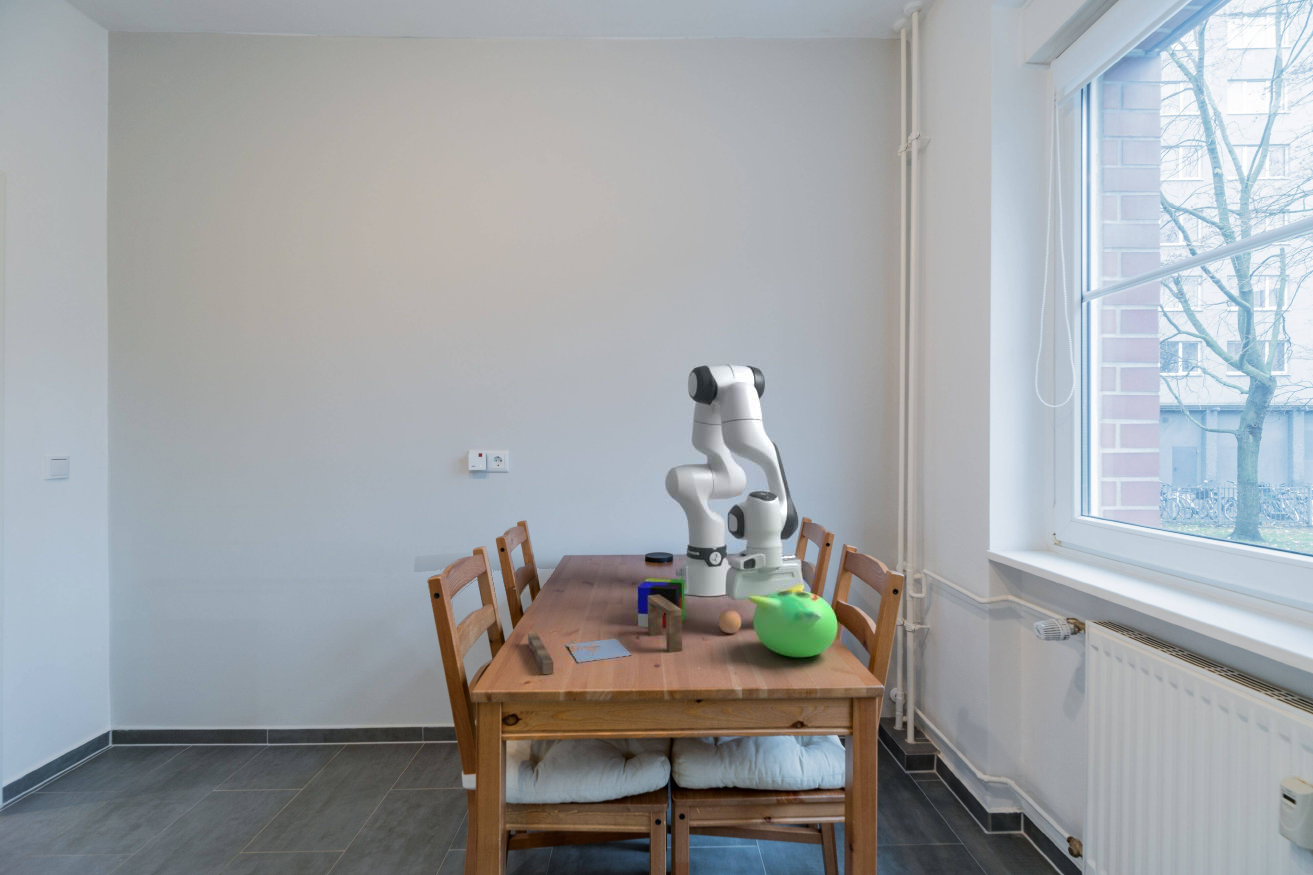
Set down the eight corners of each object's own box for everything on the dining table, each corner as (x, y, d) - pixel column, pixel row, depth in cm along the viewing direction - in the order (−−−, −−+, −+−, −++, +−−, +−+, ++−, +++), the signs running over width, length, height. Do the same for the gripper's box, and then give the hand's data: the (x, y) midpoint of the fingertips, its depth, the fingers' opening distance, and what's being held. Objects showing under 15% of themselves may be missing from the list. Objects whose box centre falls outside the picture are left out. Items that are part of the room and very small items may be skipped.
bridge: (669, 652, 142) (669, 610, 142) (648, 633, 155) (647, 595, 155) (682, 650, 143) (681, 609, 143) (659, 631, 156) (659, 594, 156)
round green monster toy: (845, 649, 142) (845, 583, 142) (824, 675, 127) (823, 601, 127) (768, 637, 151) (767, 575, 151) (740, 660, 136) (739, 591, 136)
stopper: (528, 644, 148) (528, 633, 148) (537, 643, 149) (536, 632, 149) (543, 675, 129) (543, 662, 129) (553, 673, 130) (553, 661, 130)
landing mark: (566, 645, 147) (566, 644, 147) (616, 639, 151) (616, 638, 151) (577, 663, 136) (577, 662, 136) (631, 655, 140) (631, 654, 140)
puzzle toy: (638, 626, 161) (637, 587, 161) (648, 615, 171) (647, 578, 171) (676, 629, 159) (676, 588, 159) (684, 617, 168) (684, 579, 168)
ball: (714, 630, 156) (714, 608, 156) (735, 628, 158) (734, 606, 158) (724, 637, 151) (724, 614, 151) (745, 634, 153) (745, 611, 153)
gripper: (793, 552, 164) (795, 606, 164) (722, 559, 157) (723, 615, 157) (807, 556, 158) (808, 612, 158) (733, 563, 151) (735, 621, 151)
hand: (765, 613), depth 157 cm, fingers closed
